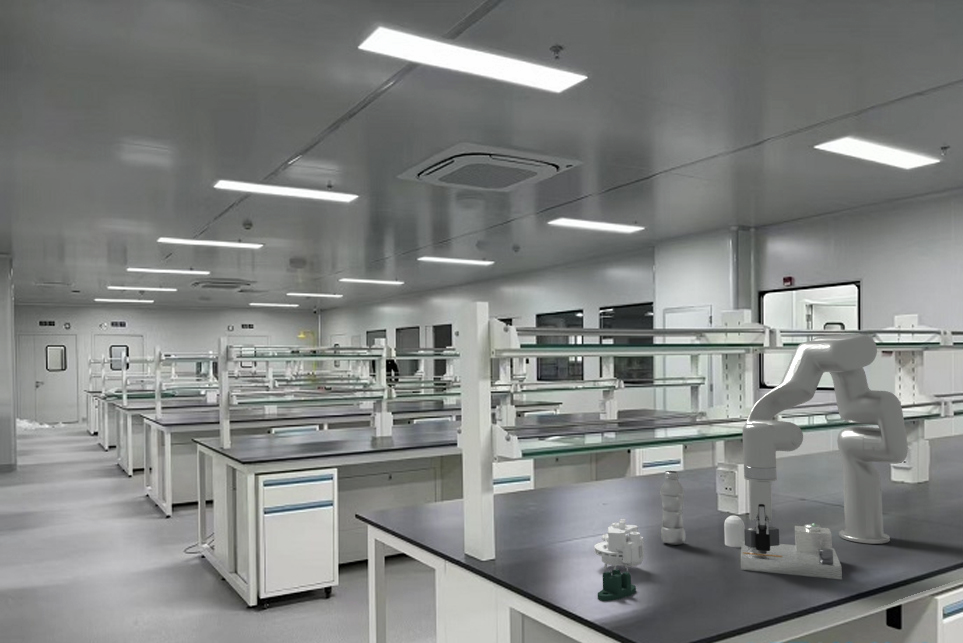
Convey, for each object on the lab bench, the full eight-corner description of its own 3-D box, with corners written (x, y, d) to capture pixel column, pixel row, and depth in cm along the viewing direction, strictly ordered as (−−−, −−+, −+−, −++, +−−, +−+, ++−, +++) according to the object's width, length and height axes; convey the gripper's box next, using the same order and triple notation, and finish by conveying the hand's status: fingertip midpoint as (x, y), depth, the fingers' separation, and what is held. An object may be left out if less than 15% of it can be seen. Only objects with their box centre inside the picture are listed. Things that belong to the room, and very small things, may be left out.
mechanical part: (608, 559, 175) (607, 513, 176) (651, 568, 167) (650, 519, 168) (585, 570, 166) (584, 521, 167) (630, 580, 159) (629, 529, 159)
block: (772, 549, 170) (771, 525, 170) (779, 552, 167) (778, 528, 168) (745, 552, 168) (744, 528, 168) (751, 555, 165) (750, 530, 166)
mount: (607, 603, 144) (606, 580, 144) (592, 598, 148) (591, 574, 148) (641, 593, 150) (641, 570, 151) (626, 587, 154) (625, 565, 154)
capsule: (735, 541, 191) (734, 512, 191) (749, 546, 186) (748, 516, 187) (720, 543, 189) (719, 514, 190) (734, 548, 184) (733, 518, 185)
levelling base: (742, 552, 180) (740, 515, 181) (834, 560, 172) (833, 521, 173) (740, 569, 166) (739, 529, 166) (841, 579, 157) (840, 537, 158)
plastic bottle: (666, 539, 194) (665, 469, 195) (689, 543, 189) (687, 471, 190) (657, 544, 189) (655, 472, 190) (680, 548, 184) (678, 474, 185)
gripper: (744, 467, 178) (746, 537, 177) (743, 478, 162) (746, 555, 161) (775, 468, 175) (777, 539, 174) (778, 480, 159) (781, 558, 158)
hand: (762, 546), depth 168 cm, fingers closed on block, 5 cm apart
